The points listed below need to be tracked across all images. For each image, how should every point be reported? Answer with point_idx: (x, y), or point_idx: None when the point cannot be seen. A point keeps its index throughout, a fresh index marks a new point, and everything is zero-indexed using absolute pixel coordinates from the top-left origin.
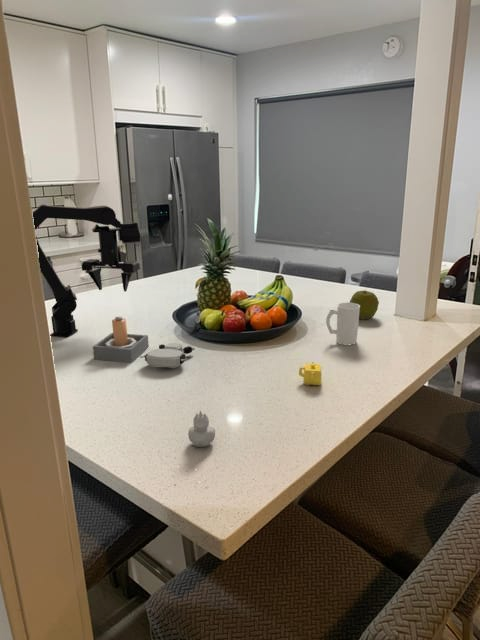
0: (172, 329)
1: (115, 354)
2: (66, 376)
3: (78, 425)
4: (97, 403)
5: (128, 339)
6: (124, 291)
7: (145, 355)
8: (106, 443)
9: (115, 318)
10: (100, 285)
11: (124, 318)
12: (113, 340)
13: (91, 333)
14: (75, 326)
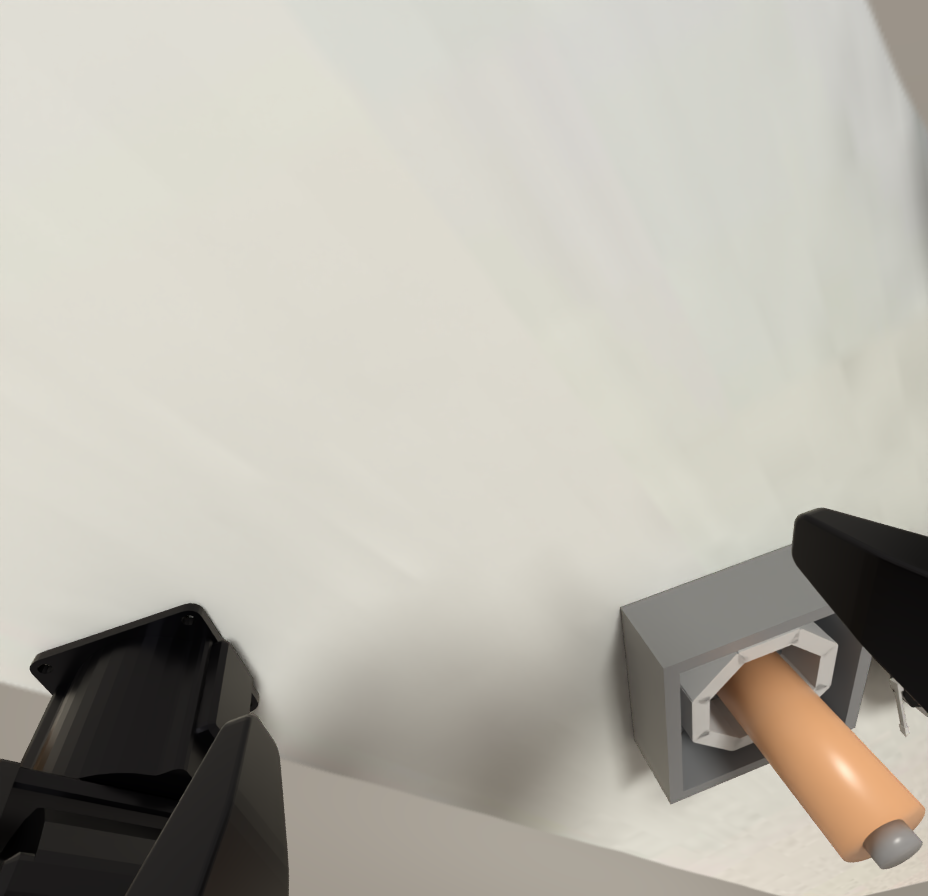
0: (899, 183)
1: None
2: (626, 841)
3: (799, 885)
4: (800, 838)
5: (778, 644)
6: (796, 558)
7: (915, 706)
8: (875, 871)
9: (881, 866)
10: (260, 850)
11: (910, 805)
12: (707, 696)
13: (345, 572)
14: (225, 673)
